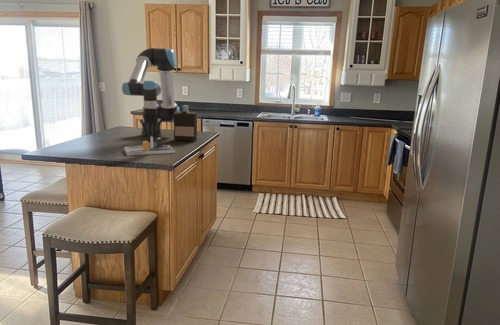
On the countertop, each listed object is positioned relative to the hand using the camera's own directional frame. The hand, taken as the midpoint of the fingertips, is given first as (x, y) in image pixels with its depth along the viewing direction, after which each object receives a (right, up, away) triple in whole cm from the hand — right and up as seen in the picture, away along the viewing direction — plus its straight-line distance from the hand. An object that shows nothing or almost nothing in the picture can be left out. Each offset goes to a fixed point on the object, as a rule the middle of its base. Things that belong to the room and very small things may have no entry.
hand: (151, 147), depth 215 cm
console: (-3, -2, +5) cm, 6 cm away
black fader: (+2, +1, +11) cm, 11 cm away
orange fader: (-3, -2, -1) cm, 4 cm away
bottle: (+13, +7, +43) cm, 45 cm away
